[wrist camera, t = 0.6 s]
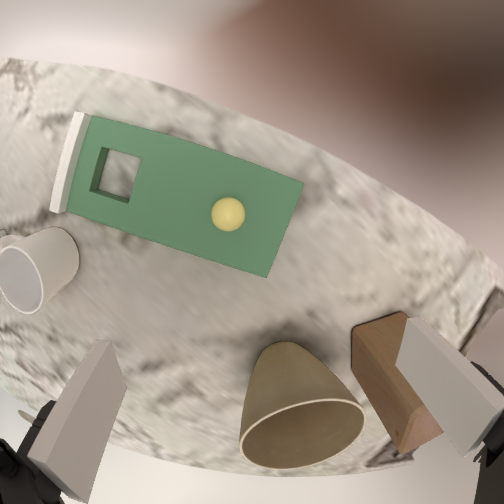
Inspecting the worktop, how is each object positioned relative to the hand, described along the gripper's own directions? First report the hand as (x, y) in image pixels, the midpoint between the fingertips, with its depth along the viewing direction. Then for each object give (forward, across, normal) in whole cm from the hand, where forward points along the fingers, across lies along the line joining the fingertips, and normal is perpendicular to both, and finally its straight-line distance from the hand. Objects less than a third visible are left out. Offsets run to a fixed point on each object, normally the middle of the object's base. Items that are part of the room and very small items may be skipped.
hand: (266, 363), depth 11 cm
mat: (+24, -8, +6) cm, 26 cm away
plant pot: (+25, +5, -20) cm, 33 cm away
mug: (+24, -28, 0) cm, 37 cm away
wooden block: (+26, +22, -20) cm, 39 cm away
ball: (+20, -2, +3) cm, 21 cm away
